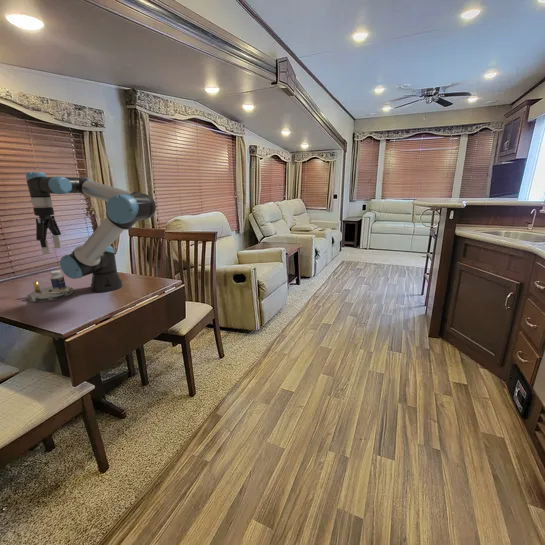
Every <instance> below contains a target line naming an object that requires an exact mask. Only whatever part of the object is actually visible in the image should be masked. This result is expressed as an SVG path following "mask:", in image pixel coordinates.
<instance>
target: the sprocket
mask: <svg viewBox="0 0 545 545" xmlns="http://www.w3.org/2000/svg"><path fill="white" fill-rule="evenodd" d="M32 285H33V288H34V290H32V292H31V293H28V294H27V295H26V297H27V298H26V299H27V300H29V299H30V298H31V299H32V301H38V300H53V299H55V298H59V297H62V296H67V295H69V293H70V292H71V291H73V292H74V288H73V287H72V286H68V284H65V285H66V289H65V290H63V291H53V287H52V285H49V286H47V287H42V288H40V283H39V281H38V280H35V281H33V282H32ZM69 296H70V295H69ZM67 297H68V296H67Z"/></svg>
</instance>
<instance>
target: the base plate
mask: <svg viewBox="0 0 545 545" xmlns="http://www.w3.org/2000/svg"><path fill="white" fill-rule="evenodd" d="M73 293H74V290H73V291H71V292H70V293H69V295H67V296H62V297H59V298H55V299H53V300H38V301H32V299H31V298H30V299H28V301H29V302H31V303H48V302H53V301H58V300H62V299H65V298H68V297H70V296H71V295H72V294H73Z"/></svg>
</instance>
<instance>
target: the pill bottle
mask: <svg viewBox="0 0 545 545" xmlns="http://www.w3.org/2000/svg"><path fill="white" fill-rule="evenodd" d="M50 275H51V276H50V278H49V279H50V281H51V282H50V283H51V286H52V287H53V291H63V290H65V289H66V285H67V284H66V281H65V277H64V276H65V275H63V274H62V271H61V270H60V269H59V270H52V271H50Z"/></svg>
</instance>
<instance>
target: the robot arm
mask: <svg viewBox="0 0 545 545" xmlns="http://www.w3.org/2000/svg"><path fill="white" fill-rule="evenodd" d="M25 179H26V184H27V188H28V192H29V196H30V200H29V201H30V202H31V203H32V204H31V205H32V207H33V208H32V209H33V214H34V216H37V217H38V218H35V224H36V226H35V227H36V231H35V232H36V236H35V237H36V241H39V243H40V247H41V252H42V255H50V254H51V252H50V246H49V242H48V239H47V235H48V230H49V231H50V232H51V234H52V236H51V237H52V241H53V245H54V249H62V243H61V239H60V235H61V234H62V233H61V230H60V228H59V225H58V224H57V221H56V218H55V211H54V207H52V206H53V202H52V197H51V194H53V195H54V194H55V195H68V194H80V195H84V196H88V197H91V198H95V199H98V200H101V201H103V202H106V204H105V207H106V209H105V216H106V217H105V218H104V220H102V222H101V223H100V224H99V226H98V227H97V228H96V229H95V230H94V231H93V233H92V234H90V236H89V237H88V239H87V240H86V241H85V242H84V244H82V245H78V246H77V247H75V249H74V250H73V251H71V253H70V254H65V255H64V256H61V258H60V260H59V266H60V269H61V270H62V271H61V272H63V274H64V276H66V277H68V278H69V279H72V280H75V279H81V278H83V277H86V276H88V275H91V274H92V276H91V283H90V290H91V291H92V292H96V293H105V292H111V291H115V290H117V289H120V288H122V287H123V286H124V283H123V280H122V279H121V277H120V275H119V273H118V270H117V262H116V254H115V250H114V247H113V246H112V244H113V243H114V242H115V241H116V239H117V238H118V237H120V235H121V234H122V233H123V232H124V230H125V231H127V230H130V229H132V228H133V227H134V225H135V224H136V223H137V222H138V221H142V220H143V221H144V220H149V219H151V218H152V217H153V216H154V215H155V213H156V211H157V204H156V202H155V199H154V198H153V197H152V196H151V195H149V194H146V193H143V192H138V191H131V192H130V191H128V190H123V189H121V188H119V187H118V188H117V187H114V186H110V185H106V184H103V183H100V182H97V181H93V180H91V179H90V178H89V177H83V176H81V177H79V176H77V177H74V176H57V175H55V176H47V174H46V173H45V172H42V171H37V172H36V171H34V172H33V171H28V172H26V173H25Z"/></svg>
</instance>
